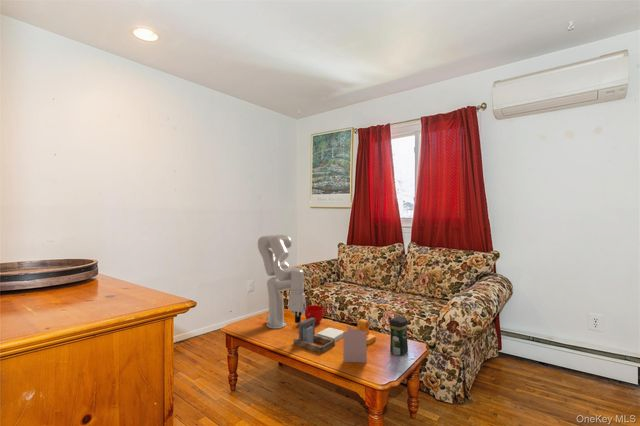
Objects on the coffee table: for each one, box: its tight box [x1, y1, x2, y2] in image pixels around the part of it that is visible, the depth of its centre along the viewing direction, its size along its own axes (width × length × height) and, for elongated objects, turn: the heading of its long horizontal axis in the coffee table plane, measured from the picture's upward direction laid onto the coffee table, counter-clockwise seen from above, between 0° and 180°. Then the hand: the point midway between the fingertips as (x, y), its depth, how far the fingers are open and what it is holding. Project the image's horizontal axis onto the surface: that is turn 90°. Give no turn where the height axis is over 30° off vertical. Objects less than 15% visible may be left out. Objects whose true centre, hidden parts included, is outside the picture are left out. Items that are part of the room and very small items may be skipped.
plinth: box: [316, 327, 346, 342], centre depth 190 cm, size 12×12×2 cm
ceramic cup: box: [304, 304, 325, 326], centre depth 211 cm, size 13×17×10 cm
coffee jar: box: [389, 315, 409, 357], centre depth 168 cm, size 10×8×19 cm
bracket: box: [356, 318, 377, 346], centre depth 182 cm, size 11×7×12 cm, turn 134°
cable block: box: [303, 325, 314, 344], centre depth 182 cm, size 5×5×9 cm
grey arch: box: [297, 317, 316, 341], centre depth 182 cm, size 3×12×9 cm, turn 142°
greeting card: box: [342, 326, 368, 363], centre depth 159 cm, size 11×7×15 cm, turn 48°
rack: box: [292, 334, 336, 355], centre depth 179 cm, size 20×12×3 cm, turn 52°
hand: (297, 322), depth 186 cm, fingers closed
